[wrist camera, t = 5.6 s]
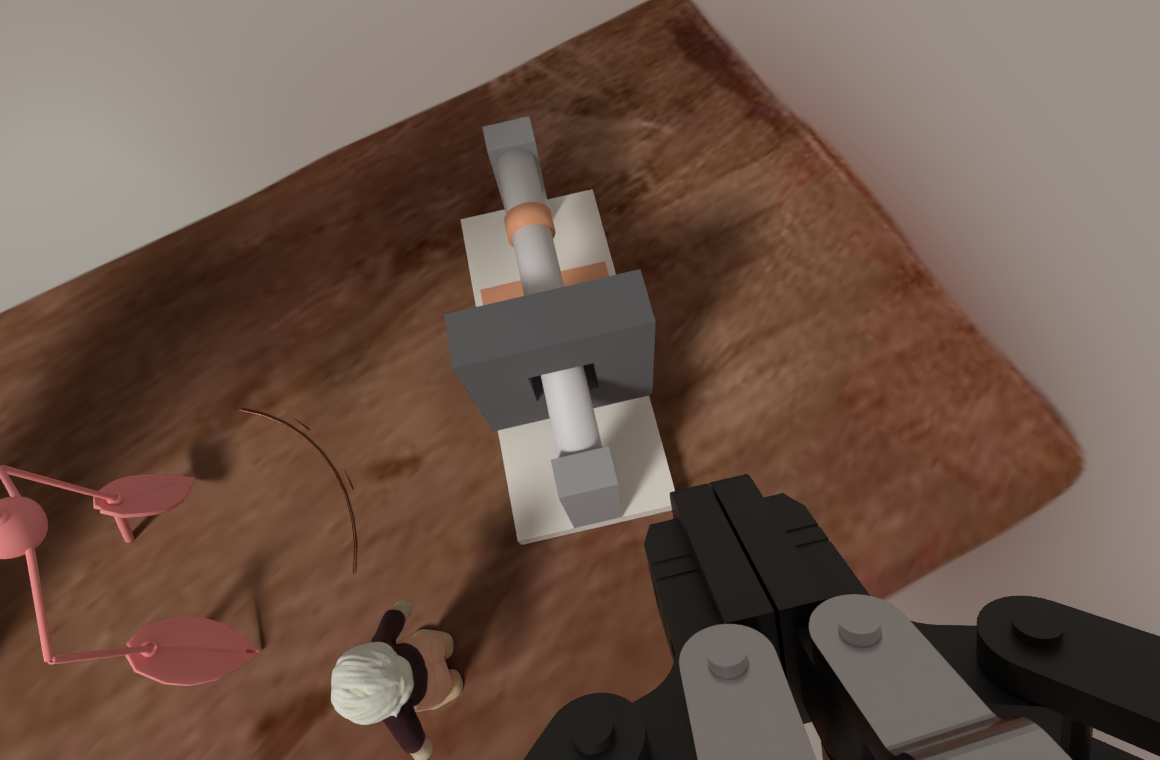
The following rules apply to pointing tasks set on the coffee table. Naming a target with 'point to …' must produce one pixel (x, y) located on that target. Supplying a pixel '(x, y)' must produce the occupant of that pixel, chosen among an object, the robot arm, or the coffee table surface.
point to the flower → (21, 525)
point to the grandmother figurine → (396, 679)
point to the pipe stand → (575, 429)
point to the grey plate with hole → (555, 346)
